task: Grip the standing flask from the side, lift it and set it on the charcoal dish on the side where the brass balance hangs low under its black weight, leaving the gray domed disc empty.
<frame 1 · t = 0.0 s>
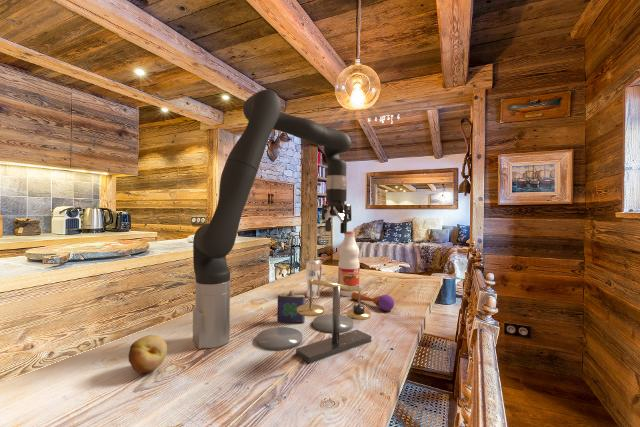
hand: (335, 232, 114), 29 cm above the table, tool pointing down, fingers open, 8 cm apart
fruit: (148, 371, 71), on the table
beer glass: (313, 296, 133), on the table
flask: (290, 322, 103), on the table
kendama: (371, 306, 122), on the table
fruit juice: (348, 294, 138), on the table
gray domed disc: (279, 339, 89), on the table
balance: (335, 347, 85), on the table
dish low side: (333, 324, 101), on the table
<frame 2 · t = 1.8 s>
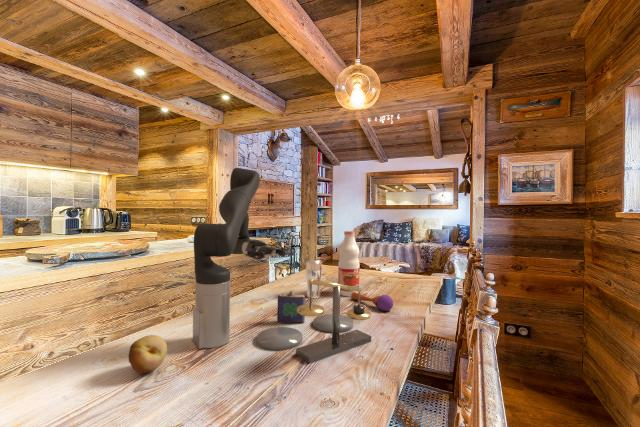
hand: (274, 254, 112), 21 cm above the table, tool horizontal, fingers open, 8 cm apart
nothing on the table moved.
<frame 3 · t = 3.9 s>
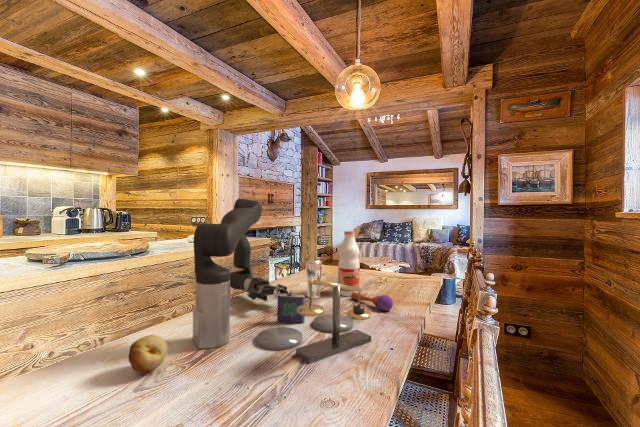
hand: (277, 296, 110), 6 cm above the table, tool horizontal, fingers open, 8 cm apart
nothing on the table moved.
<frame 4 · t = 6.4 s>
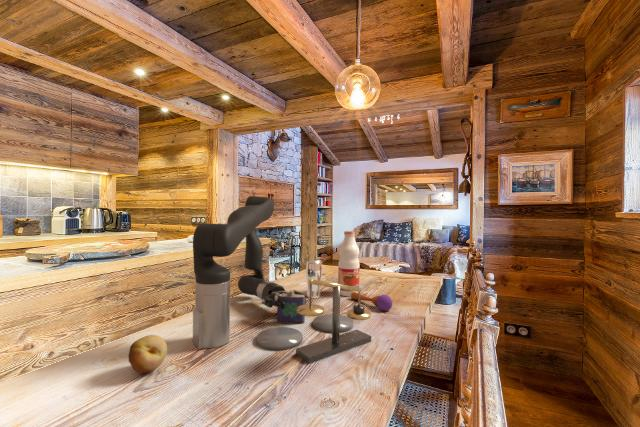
hand: (294, 303, 101), 7 cm above the table, tool horizontal, fingers closed on flask, 7 cm apart
flask: (290, 322, 103), on the table, touching gripper
everything else where it was.
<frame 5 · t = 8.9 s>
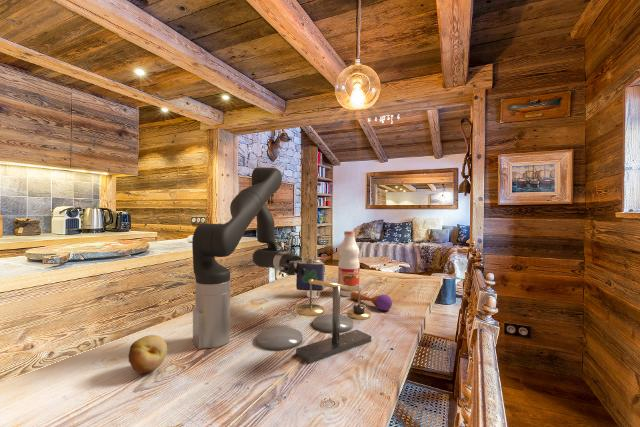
hand: (314, 270, 101), 18 cm above the table, tool horizontal, fingers closed on flask, 7 cm apart
flask: (309, 290, 102), point 11 cm above the table, touching gripper
everything else where it was.
when the fingers open (9 cm above the table, at t = 11.8 s): flask drops 1 cm, resting on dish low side.
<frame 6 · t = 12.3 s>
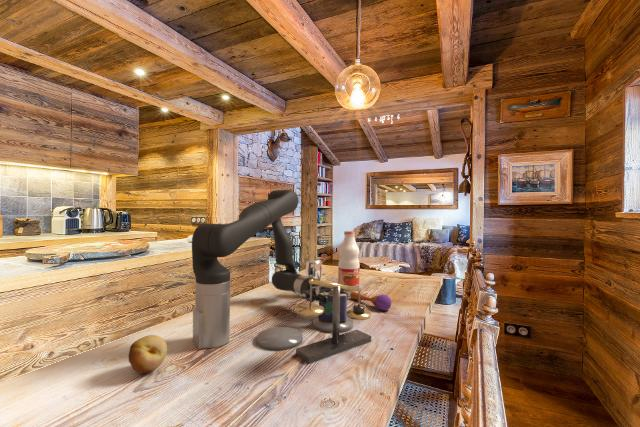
hand: (337, 298, 99), 9 cm above the table, tool horizontal, fingers open, 8 cm apart
flask: (332, 321, 101), point 1 cm above the table, touching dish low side
everything else where it was.
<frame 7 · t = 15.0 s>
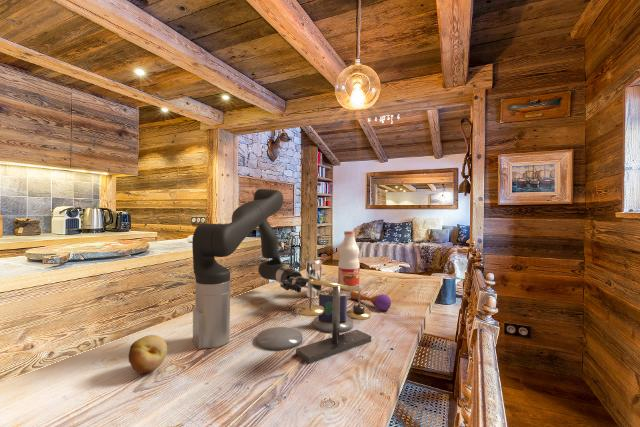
hand: (310, 288, 110), 9 cm above the table, tool horizontal, fingers open, 8 cm apart
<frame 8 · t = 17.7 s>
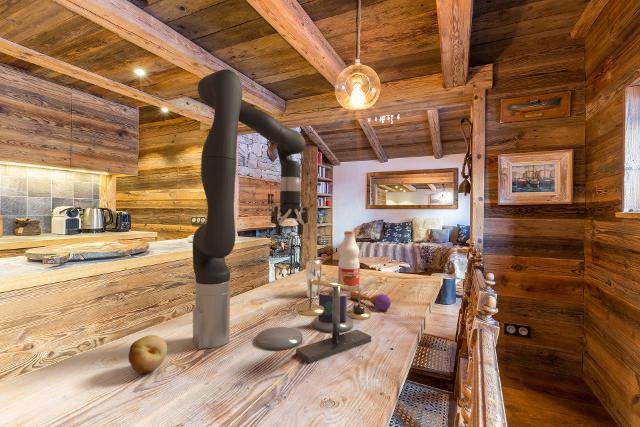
hand: (289, 235, 111), 28 cm above the table, tool pointing down, fingers open, 8 cm apart
at the end: flask 0.3 cm from the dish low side (horizontally); flask point 1.0 cm above the table; flask tilted 2° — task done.
